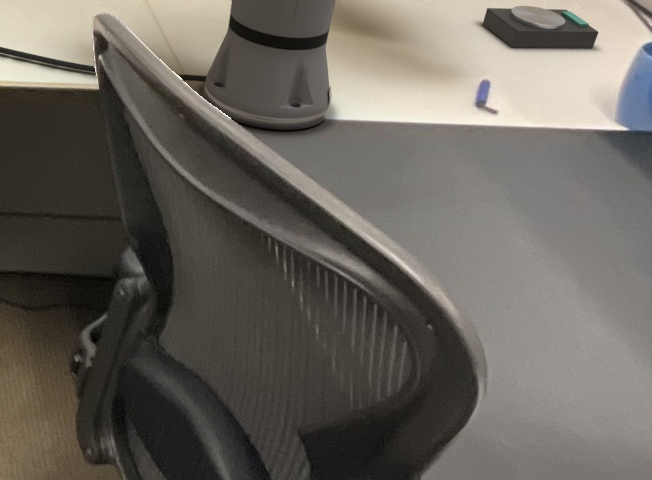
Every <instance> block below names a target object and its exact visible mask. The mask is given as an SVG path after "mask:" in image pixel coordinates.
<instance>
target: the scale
mask: <svg viewBox="0 0 652 480" xmlns="http://www.w3.org/2000/svg"><path fill="white" fill-rule="evenodd" d="M482 26H484V27H485V28H486V29H488V30H489V31H490V32H491V33H493V34H494V35H495V36H497V37H498V38H499V39H501V40H502V41H503V42H504V43H506V44H507V45H508V46H510V48H513V49H515V48H517V49H519V48H520V49H521V48H523V49H529V48H530V49H546V48H547V49H548V48H549V49H593V48H594V46H595V44H596V40H597V37H598V35H599V31H598V29H595V28H594V27H592V26H591V25H589V23H588V22H587V21H586V20H584V19H582V17H580V16H578V15H577V14H575V13H574V12H573V11H569V10H568V9H558V8H557V9H556V8H555V9H553V8H552V9H551V8H550V9H549V8H542V7H539V6H532V5H516V6H514V7H512V8H507V7H506V8H505V7H503V8H502V7H501V8H498V7H487V8H486V11H485V14H484V18H483V21H482Z"/></svg>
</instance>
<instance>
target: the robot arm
mask: <svg viewBox="0 0 652 480" xmlns="http://www.w3.org/2000/svg"><path fill="white" fill-rule="evenodd" d="M335 5H336V0H231V4H230V14H229V18H228V19H229V20H228V26H227V29H226V30H227V31H226V34H225V36H224V37H223V40H222V42H221V44H220V46H219V48H218V50H217V53H216V55H215V56H214V58H213V60H212V63H211V65H210V66H209V69H208V71H207V73H206V75H200V74H199V75H198V74H184V73H183V74H181V73H177V74H178V75H179V76H180V77H181V78H182V79H183V80H182V81H185V82H186V81H187V82H198V83H199V82H200V83H204V86H203V99H204V98H205V99H206V100H207V101H208V102H209V103H211V104H212V105H213V106H215V107H217V108H218V109H219V110H221V111H222V112H223V113H225V114H226V115H228V116H229V117H231V118H232V119H233V120H232V119H231V120H232V121H234V122H237V123H240V124H244V125H248V126H251V127H257V128H261V129H269V130H279V131H280V130H281V131H291V130H303V129H308V128H311V127H314V126H316V125H319V124H320V123H323V121H324V120H325V119H326V118H327V116H328V113H329V108H330V105H331V104H332V98H333V91H332V85H330V77H329V68H328V65H329V64H328V57H327V43H328V39H329V32H330V28H331V24H332V19H333V15H334V11H335V10H334V9H335ZM0 54H4V55H7V56H12V57H17V58H20V59H25V60H30V61H34V62H38V63H43V64H48V65H52V66H57V67H62V68H68V69H71V70H79V71H83V72H89V73H95V68H94V66H95V65H89V64H83V63H76V62H71V61H67V60H61V59H57V58H52V57H47V56H42V55H38V54H33V53H29V52H25V51H20V50H15V49H11V48H7V47H3V46H0ZM205 99H204V100H205Z"/></svg>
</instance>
